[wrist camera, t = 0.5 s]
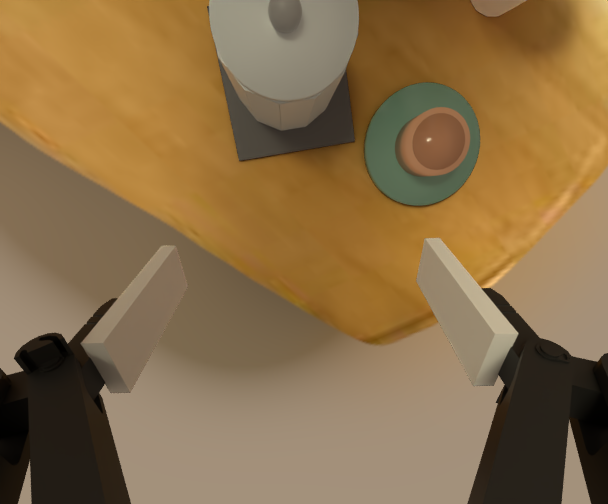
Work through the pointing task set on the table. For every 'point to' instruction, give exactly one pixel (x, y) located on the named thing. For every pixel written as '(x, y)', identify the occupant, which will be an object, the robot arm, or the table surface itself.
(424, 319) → the table surface
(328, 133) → the mat
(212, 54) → the table surface
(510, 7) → the foam cup
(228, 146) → the table surface
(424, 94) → the green and pink dish
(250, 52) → the lidded canister
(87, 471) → the robot arm
